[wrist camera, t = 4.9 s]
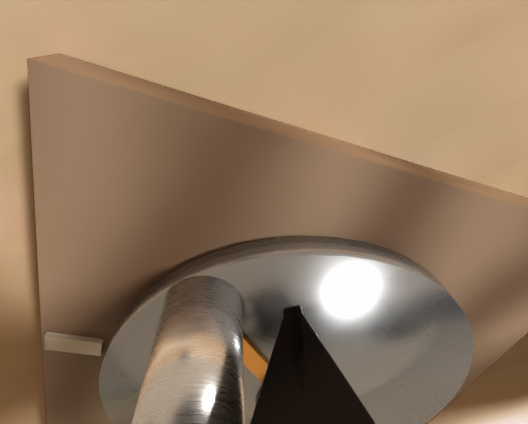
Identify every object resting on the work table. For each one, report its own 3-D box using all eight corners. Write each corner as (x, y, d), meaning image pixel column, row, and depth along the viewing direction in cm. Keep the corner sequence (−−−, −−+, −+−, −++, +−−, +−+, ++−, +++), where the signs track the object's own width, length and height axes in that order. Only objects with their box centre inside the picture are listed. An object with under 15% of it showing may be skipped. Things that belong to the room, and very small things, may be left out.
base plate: (590, 218, 13) (636, 242, 11) (366, 446, 22) (375, 475, 21) (59, 53, 8) (21, 59, 7) (61, 425, 18) (45, 461, 16)
